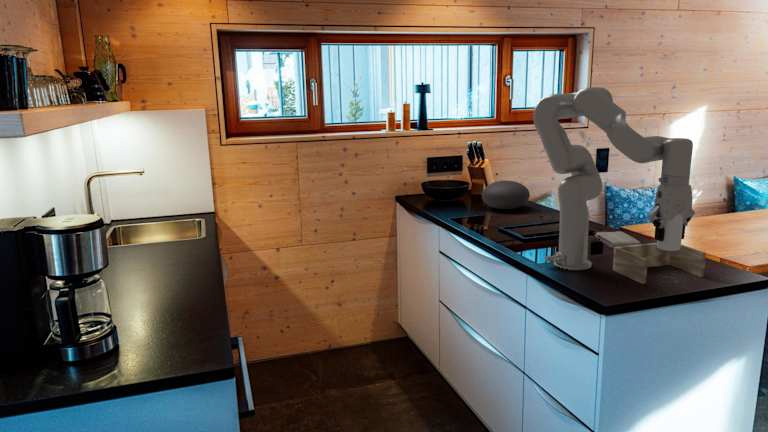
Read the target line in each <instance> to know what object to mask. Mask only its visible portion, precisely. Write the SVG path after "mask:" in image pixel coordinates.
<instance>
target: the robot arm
mask: <svg viewBox="0 0 768 432" xmlns="http://www.w3.org/2000/svg"><path fill="white" fill-rule="evenodd" d="M532 116H533V120H532V121H533V125H534V128H535V129H536V131H537V134H538V136H539V138H540V140H541V143H542V145H543V148H544V151H545V153H546V155H547V158H548V161H549V163H550V165H551V168H552V170H553V171H554V172H555V173H557V174H559V175H567V174H571V175H570V176H568V177H565V178H564V179H563V180H562V181H561V182H560V184H559V185H558V188H557V196H558V205H559V236H558V251H556V252H555V254H553V255H547V256H545V262H547V263H549V262H553V265H554V266H555V267H556V266H557V268H558V267H560V268H559V269H562V268H563V269H562V270H566V269H568V270H567V271H584V270H589V269H591V267H592V265H593V262H592V261H590V260H589V259H588V252H589V251H588V249H589V248H588V245H589V227H590V223H589V221H590V212H589V207H588V204H587V202H588V201H591V200H594V199H596V198H598V197H599V196H600V195H601V193H602V191H603V181H602V177H601V176H600V173H599V171H598V168H597V166H596V163H595V161H594V159H593V156H592V154H591V152H590V151H589V150H588V148H586V147H585V146H583V145H580V144H572V143H571V140H570V139H569V136H568V133H567V132H566V130H565V128H564V127H563V126H562V125H561V123H560V122H559V120H562V119H563V120H564V119H573V118H579V117H585V118H586V119H587V120H589V121H590V122H591V123H593V124H594V125H596V126H597V127H598V128H599V129H601V131H603V132H604V133H605V134H606V137H607V138H608V140H609V141H610V142H611V144H612V146H613V147H614V148H616V150H617V151H619V152H620V153H621V154H622V155H624V156H626V158H628V159H630V160H631V161H633V162H635V163H637V164H647V163H651V162H657V161H661V171H660V172H661V174H660V177H659V178H657V180H658V183H659V185H658V186H657V190H656V194H655V197H654V205H653V209H652V210H651V211H650V212H649V213H648V214H647V218H648V219H649V220H650V222H651V224H652V225H653V227H654V239H655V240H656V241H657V240H659V241H663V240H664V232H665V228H663V226H664V224H665V222H666V220H672V219H674V217H675V216H676V215H678V214H680V215H682V216H683V229H682V239H681V240H684V239H685V233H686V227H687V226H688V225H689V222H690V221H691V219H693V218H692V217H694V215H695V214H696V212H695V210H694V209H693V188H692V185H691V184H690V177H691V176H690V175H691V169H692V168H691V167H692V159H693V156H692V155H693V150H694V149H693V146H694V143H693V141H692V140H691V139H689V138H682V137H680V138H679V137H675V138H673V137H672V138H671V137H666V136H665V137H664V136H661V135H660V136H659V135H653V136H645V137H643V136H642V135H641V134H639V133H638V132H637V131H636V130H634V129H633V128H632V127H631V126H630V125H629V124H628V122H627V120H626V117H627V112H626V111H625V110H624V109H623V108H621V106H619V105H617V104H616V103H615V102H613V94H611V92H610V90H609V89H606V88H605V87H600V86H597V87H594V86H593V87H584V88H582V89H580V90H579V91H577V92H570V93H552V94H548V95H546V96H544V97H542V98H540V100H538V102H537V104H536V105H535V107H534V110H533V114H532ZM678 212H679V213H678ZM660 216H661V217H660ZM660 219H661V222H660Z"/></svg>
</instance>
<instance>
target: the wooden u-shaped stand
mask: <svg viewBox="0 0 768 432" xmlns="http://www.w3.org/2000/svg"><path fill="white" fill-rule="evenodd" d="M706 256H707V252H705V251H702V250H698V249H697V248H693V247H690V246H687V245H684V244H681V248H680V250H678V251H663V250H660V249H658V247H657V242H653V243H651V242H650V243H643V244H642V243H641V244H640V245H630V246H620V247H614V248H613V259H612V260H613V261H612V270H613V272H615V273H618V274H621V275H623V276H625V277H627V278H629V279H631V280H633V281H635V282H637V283H640V284H641V285H644V284H645V285H646V284H647V273H648V268H651V267H653V268H654V267H661V266H662V267H663V266H671V267H674V268H677V269H679V270H682V271H684V272H686V273H689V274H691V275H694V276H697V277H698V278H699V277H700V278H703V277H705V268H706Z"/></svg>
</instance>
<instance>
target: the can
mask: <svg viewBox="0 0 768 432" xmlns="http://www.w3.org/2000/svg"><path fill="white" fill-rule="evenodd" d="M678 213H679V212H678ZM660 217H661V216H660ZM660 222H661V219H660ZM663 228H665V232H664V240H663V241H659V240H656V243H657V247H658V249H660V250H663V251H678V250H680V248H681V245H682V240H683V239H682V229H683V216H682V215H680V214H678V215H676V216H675V217H674V219H672V220H666V222H665V224H664V226H663Z"/></svg>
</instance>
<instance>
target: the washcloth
mask: <svg viewBox="0 0 768 432" xmlns="http://www.w3.org/2000/svg"><path fill="white" fill-rule="evenodd" d="M594 237H596V239H597V238H598V239H600V240H599V241H600V242H601V241H602V242H601V243H603V244H605V245H606V244H607V246H608V247H610V248H613V249H614V247H620V246H630V245H640V244H642V243H641V241H639V240H638V239H636V238H635V237H633V236H631V235H629V234H627V233H625V232H623V231H620V230H619V231H618V230H617V231H599V232H598V231H597V232H596V233H595V235H594ZM598 239H597V240H598Z"/></svg>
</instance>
